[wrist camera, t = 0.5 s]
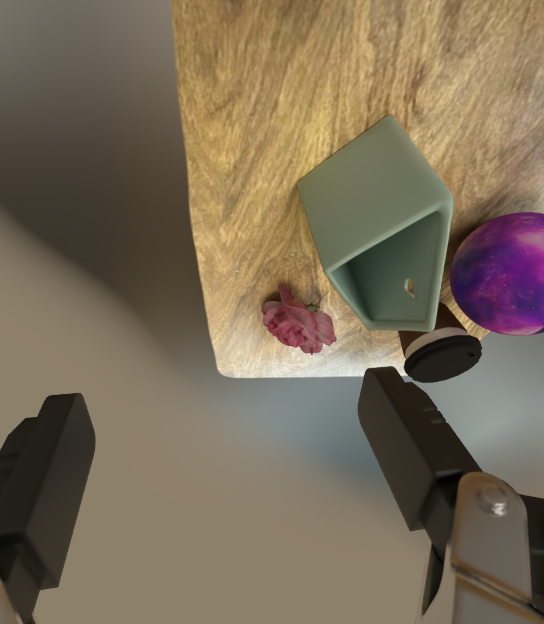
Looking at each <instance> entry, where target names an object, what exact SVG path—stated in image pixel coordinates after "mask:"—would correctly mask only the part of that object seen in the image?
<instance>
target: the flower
mask: <svg viewBox="0 0 544 624" xmlns="http://www.w3.org/2000/svg"><path fill="white" fill-rule="evenodd" d="M279 291H280V295H281V301H282V302H278V301H268V302H267V303H265V305H264V307H263V309H262V310H263V313H264V315H265V316H264V318H263V322H264V325H265V326H267V327H268V331H269V332H270V333H272V334H273V336H276V337H277V339H278V340H279V341H280V342H282V343H283V344H285V345H288V346H293V347H295V348H296V347H299V346H300V348H301V350H302V351H303V352H304V353H311V355H312V354H313V353H318V352H320V351H321V350H322V347H323V343H324V344H326V345H328V346H330V345H331V344H332V343H333V341H334V342H336V337H335V329H334V326H333V322H332V318H331V317H330V316H329V315H327V314H326V313H323V312H322V311H318V310H319V307H320V301H321V300H322V299H321V300H320V301H319V302H318V303H316V304H315V305H313V304H312V302H313V301H312V302H311V303H310V304H309V305H307V306H305V305H304V303H303V302H302V301H296V300H294V298H293V296H292V294H291V291H290V290H289V288H288V287H287V286H286V285H285V284H281V283H280V284H279ZM326 294H327V293H326ZM326 294H325V295H326ZM325 295H324V296H325ZM324 296H323V297H324Z"/></svg>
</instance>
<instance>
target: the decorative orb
mask: <svg viewBox="0 0 544 624" xmlns="http://www.w3.org/2000/svg"><path fill="white" fill-rule="evenodd" d="M450 286H451V290H452V294H453V296H454V299H455V301H456V303H457V304H458V306H459V308H460V309H461V310H462V311H463V313H464V314H465V315H466V316H467V317H468V318H470V319H471V320H472V321H473V322H475V323H476V324H478V325H480V326H481V327H483V328H485V329H488V330H490V331H493V332H496V333H500V334H505V335H514V336H525V335H534V334H539V333H543V332H544V214H542V213H533V212H522V213H513V214H508V215H504V216H501V217H498V218H495V219H493V220H490V221H488V222H486V223H485V224H483V225H481V226H480V227H478V228H477V229H475V230H474V231H473V232H472V233H471V234H470V235H469V236H468V237H467V238H466V239H465V240H464V241H463V242H462V244H461V245H460V246H459V248H458V250H457V251H456V253H455V256H454V258H453V261H452V264H451V269H450Z"/></svg>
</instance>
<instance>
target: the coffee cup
mask: <svg viewBox="0 0 544 624" xmlns="http://www.w3.org/2000/svg"><path fill="white" fill-rule="evenodd" d="M410 293H412V294H413V296H414V297H415V291H412V292H410ZM398 333H399V337H400V341H401V346H402V350H403V354H404V356H405V358H406V361H405V364H404V370H405V372H406V373H407V374H408V376H409V377H412V379H413V380H415V381H418V382H422V383H431V382H432V383H433V382H438V381H443V380H447V379H450V378H452V377H455V376H458V375H460V374H462V373H464V372H465V371H467V370H469V369H470V368H472V367H473V366H474V365H475V364H476V363H477V362H478V361H479V359H480V357H481V355H482V353H481V349H482V347H481V344H480V341H479V339H478V338H475V337H473V336H471V335H469V334H468V333H467V330H466V329H465V328H464V326H463V325H462V324H461V323H460V322H459V320H458V319H457V318H456V317H455V316H454V314H453V313H452V312H451V311H450V310H449V308H448V307H447V306H446V305H445V304H443V303H442V302H441V301H440V300H439V302H438V309H437V316H436V323H435V327H434V330H433V331H431V332H422V331H406V330H398Z"/></svg>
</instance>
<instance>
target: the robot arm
mask: <svg viewBox="0 0 544 624" xmlns="http://www.w3.org/2000/svg"><path fill="white" fill-rule="evenodd" d="M358 416H359V420H360V424H361V426H362V428H363V430H364V432H365V435H366V437H367V439H368V441H369V443H370V446H371V448H372V450H373V452H374V454H375V456H376V459H377V461H378V463H379V465H380V467H381V469H382V472H383V474H384V476H385V478H386V480H387V482H388V484H389V487H390V489H391V491H392V493H393V495H394V498H395V500H396V502H397V504H398V506H399V508H400V511H401V512H402V515H403V517H404V519H405V521H406V524H407V526H408V528H409V530H410V531H415V530H420V529H425V530H426V532H427V534H428V536H429V538H430V541H429V544H428V548H427V555H426V561H425V567H424V573H423V579H422V585H421V592H420V598H419V605H418V610H417V616H416V621H415V624H544V499H543V498H537V497H531V496H526V495H521V494H518V493H517V492H516V491H515V490H514V489H513V488H512V487H511V486H510V485H509V484H507V483H506V482H505V481H503V480H501V479H499V478H498V477H496V476H494V475H491V474H488V473H484V472H483V471H482V470H481V469H480V468H479V466H478V464H477V463H476V462H475V460H474V459H473V457H472V456H471V455H470V453H469V452H468V451H467V449H466V448H465V446H464V445H463V444H462V442H461V441H460V439H459V438H458V436H457V435H456V434H455V432H454V431H453V429H452V428H451V427H450V425H449V424H448V423H446V420H445V418H444V417H443V415H442V414H441V413H440V411H438V410H437V407H436V406H435V404H434V403H433V401H432V400H431V399H430V397H429V396H428V394H427V393H425V392H424V391H423V390H422V389H420V388H419V387H418V386H416V385H415V384H414V383H413V382H406V383H405V382H404V380H403V379H402V377H401V376H400V374H399V373H398V371H397V370H396V369H395V368H394V367H392V366H389V367H377V368H368V369H367V370H366V371H365V375H364V379H363V384H362V389H361V393H360V397H359V402H358ZM94 452H95V431H94V428H93V425H92V422H91V419H90V416H89V413H88V410H87V406H86V404H85V401H84V398H83V396H82V394H81V393H72V394H61V395H50V396H48V397H47V398H46V400H45V401H44V403H43V405H42V407H41V409H40V412H39V414H38V416H37V417H32V418H25V419H24V420H23V421H22V422H21V423H20V424H19V425H18V426H17V427H16V428H15V429H14V430H13V431H12V432H11V433H10V434H9V435H8V436H7V438H6V441H5V442H4V444H3V446H2V448H1V450H0V624H39V623H38V621H37V618H36V616H35V614H34V612H33V611H34V608H35V604H36V601H37V598H38V594H39V591H40V590H44V589H50V588H56V587H58V586H59V582H60V578H61V575H62V571H63V567H64V563H65V560H66V556H67V552H68V549H69V545H70V541H71V538H72V534H73V530H74V527H75V523H76V519H77V515H78V512H79V508H80V504H81V500H82V497H83V493H84V490H85V486H86V482H87V478H88V475H89V471H90V468H91V464H92V460H93V457H94ZM533 604H534V605H533ZM534 606H535V607H536V608H535V607H534Z"/></svg>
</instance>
